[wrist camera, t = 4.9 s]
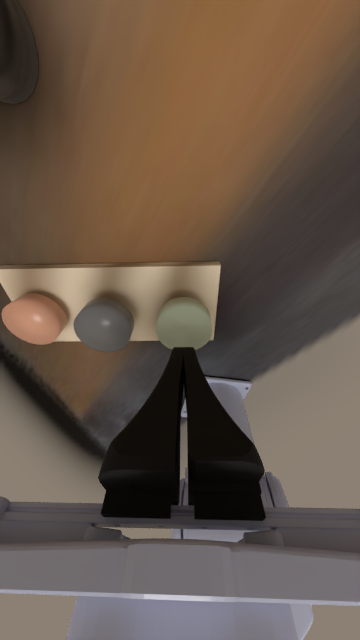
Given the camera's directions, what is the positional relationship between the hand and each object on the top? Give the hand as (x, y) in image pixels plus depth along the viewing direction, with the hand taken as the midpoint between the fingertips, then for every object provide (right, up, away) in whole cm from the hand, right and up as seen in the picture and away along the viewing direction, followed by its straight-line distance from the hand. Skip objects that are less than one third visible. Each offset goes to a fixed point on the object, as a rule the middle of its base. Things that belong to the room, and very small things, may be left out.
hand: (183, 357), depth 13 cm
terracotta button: (-13, +3, +5) cm, 14 cm away
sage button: (0, +3, +4) cm, 5 cm away
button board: (-6, +4, +6) cm, 10 cm away
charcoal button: (-6, +3, +4) cm, 8 cm away
